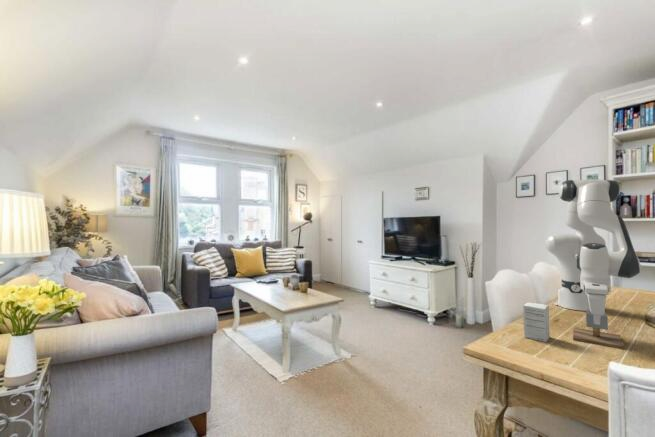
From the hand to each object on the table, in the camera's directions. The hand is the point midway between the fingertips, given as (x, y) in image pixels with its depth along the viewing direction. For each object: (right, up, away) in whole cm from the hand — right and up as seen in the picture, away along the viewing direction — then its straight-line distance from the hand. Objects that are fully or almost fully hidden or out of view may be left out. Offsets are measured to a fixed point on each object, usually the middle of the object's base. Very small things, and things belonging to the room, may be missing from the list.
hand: (596, 321), depth 116 cm
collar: (0, -2, 0) cm, 2 cm away
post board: (0, -7, 0) cm, 7 cm away
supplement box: (-22, -7, +2) cm, 23 cm away
